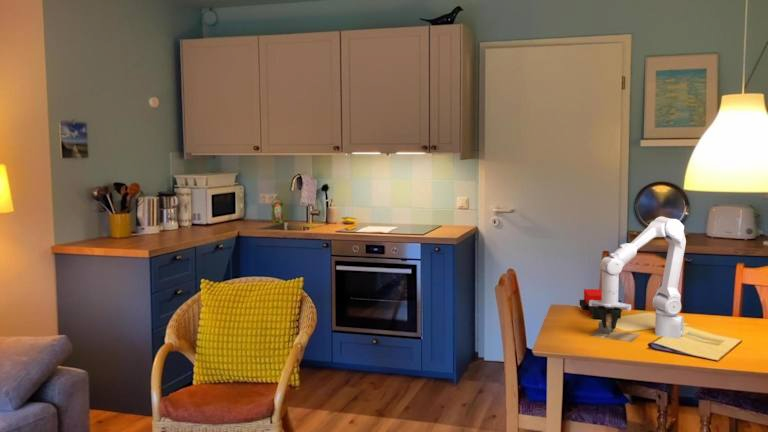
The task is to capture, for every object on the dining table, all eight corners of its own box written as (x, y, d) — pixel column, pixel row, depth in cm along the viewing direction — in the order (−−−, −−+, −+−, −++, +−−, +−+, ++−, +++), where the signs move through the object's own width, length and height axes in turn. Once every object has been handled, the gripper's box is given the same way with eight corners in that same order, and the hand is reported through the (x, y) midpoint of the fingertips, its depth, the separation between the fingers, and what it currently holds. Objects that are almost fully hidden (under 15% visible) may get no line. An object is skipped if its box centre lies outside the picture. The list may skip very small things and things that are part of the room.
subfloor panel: (640, 337, 259) (640, 334, 259) (631, 345, 250) (631, 342, 249) (599, 331, 268) (600, 328, 268) (589, 338, 258) (589, 335, 258)
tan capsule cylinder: (613, 330, 256) (614, 314, 255) (611, 332, 254) (612, 316, 253) (606, 329, 257) (607, 313, 257) (604, 331, 255) (604, 315, 255)
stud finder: (614, 331, 264) (614, 319, 264) (609, 334, 259) (609, 322, 259) (603, 329, 266) (603, 317, 266) (598, 333, 261) (598, 321, 261)
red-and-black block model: (588, 302, 280) (579, 289, 305) (587, 322, 281) (578, 308, 306) (626, 303, 278) (614, 289, 303) (625, 323, 279) (613, 308, 304)
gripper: (586, 290, 255) (585, 327, 256) (627, 295, 247) (626, 333, 248) (592, 286, 261) (592, 323, 262) (633, 291, 252) (632, 328, 254)
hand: (609, 327), depth 255 cm, fingers closed on tan capsule cylinder, 3 cm apart
